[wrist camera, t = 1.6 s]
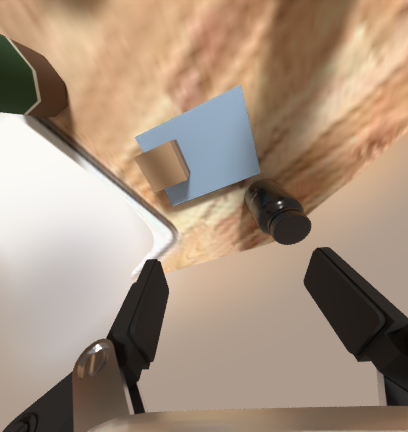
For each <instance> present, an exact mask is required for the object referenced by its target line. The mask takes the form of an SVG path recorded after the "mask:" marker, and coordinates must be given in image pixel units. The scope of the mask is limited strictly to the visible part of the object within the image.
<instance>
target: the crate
mask: <svg viewBox="0 0 408 432" xmlns="http://www.w3.org/2000/svg"><path fill="white" fill-rule="evenodd" d="M134 159H135V160H136V162H137V164H138V166H139V167H140V169H141V171H142V172H143V174H144V176H145V177H146V179H147V181H148V183H149V184H150V186H151V188H152V189H153V191H154V193H156V192H158V191H161V190H163V189H166V188H168V187H171V186H173V185H176V184H178V183H181V182H183V181H185V180H187V179H188V177H189V174H190V169H189V167H188V165H187V163H186V160H185V158H184V156H183V153H182V151H181V149H180V146H179V144H178V142H177V140H171V141H168V142H166V143H164V144H162V145H160V146H157V147H155V148H153V149H151V150H149V151H147V152H145V153H142V154H140V155H138V156H136V157H134Z"/></svg>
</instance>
